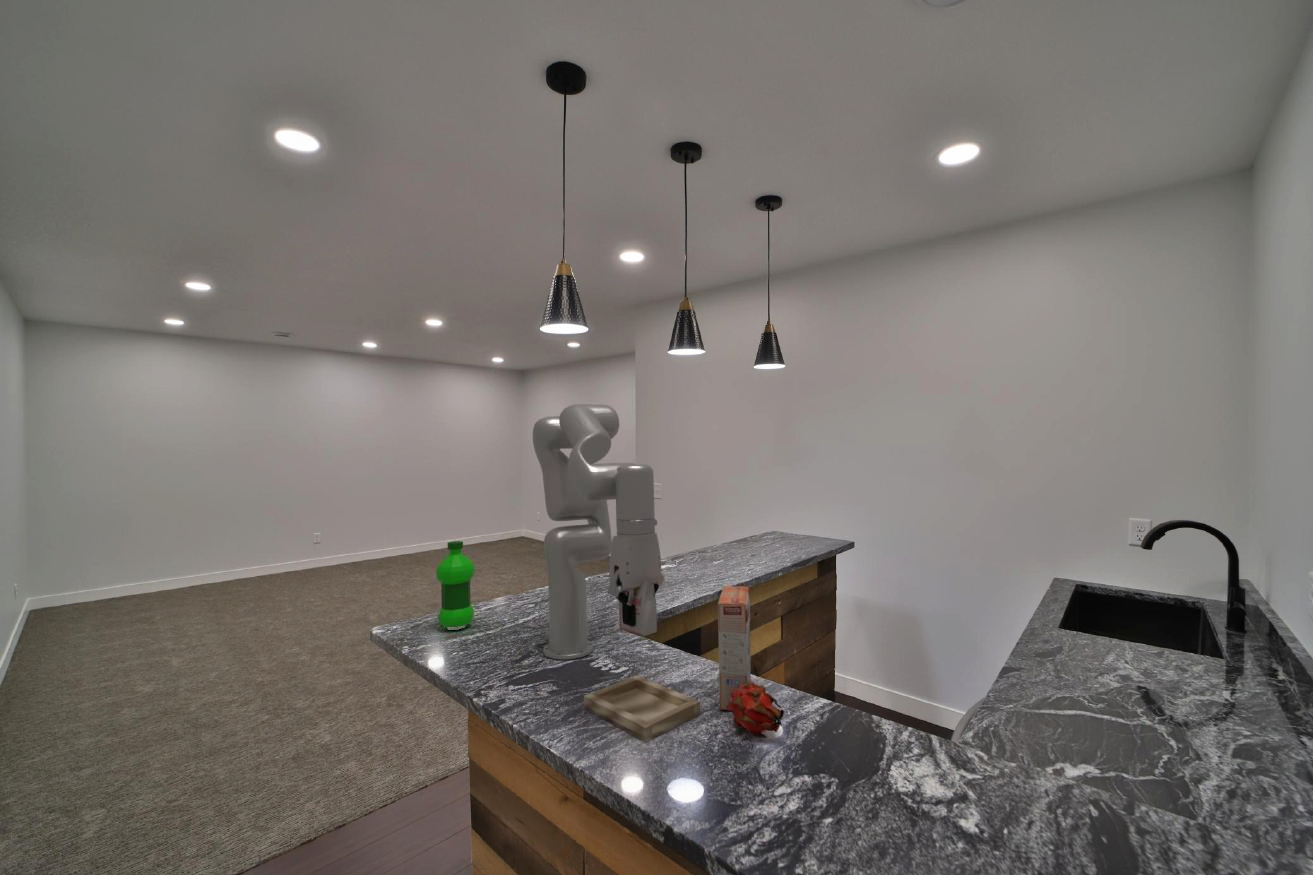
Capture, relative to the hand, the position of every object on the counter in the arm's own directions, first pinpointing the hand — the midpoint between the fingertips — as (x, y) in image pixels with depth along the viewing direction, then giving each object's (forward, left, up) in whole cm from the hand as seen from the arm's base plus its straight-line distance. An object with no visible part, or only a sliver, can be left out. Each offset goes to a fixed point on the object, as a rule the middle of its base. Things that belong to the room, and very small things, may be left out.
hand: (637, 621), depth 108 cm
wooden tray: (0, 0, -17) cm, 17 cm away
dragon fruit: (+20, +10, -18) cm, 29 cm away
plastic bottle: (-78, -3, -18) cm, 80 cm away
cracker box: (+9, +18, -18) cm, 27 cm away
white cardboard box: (0, 0, -2) cm, 2 cm away
